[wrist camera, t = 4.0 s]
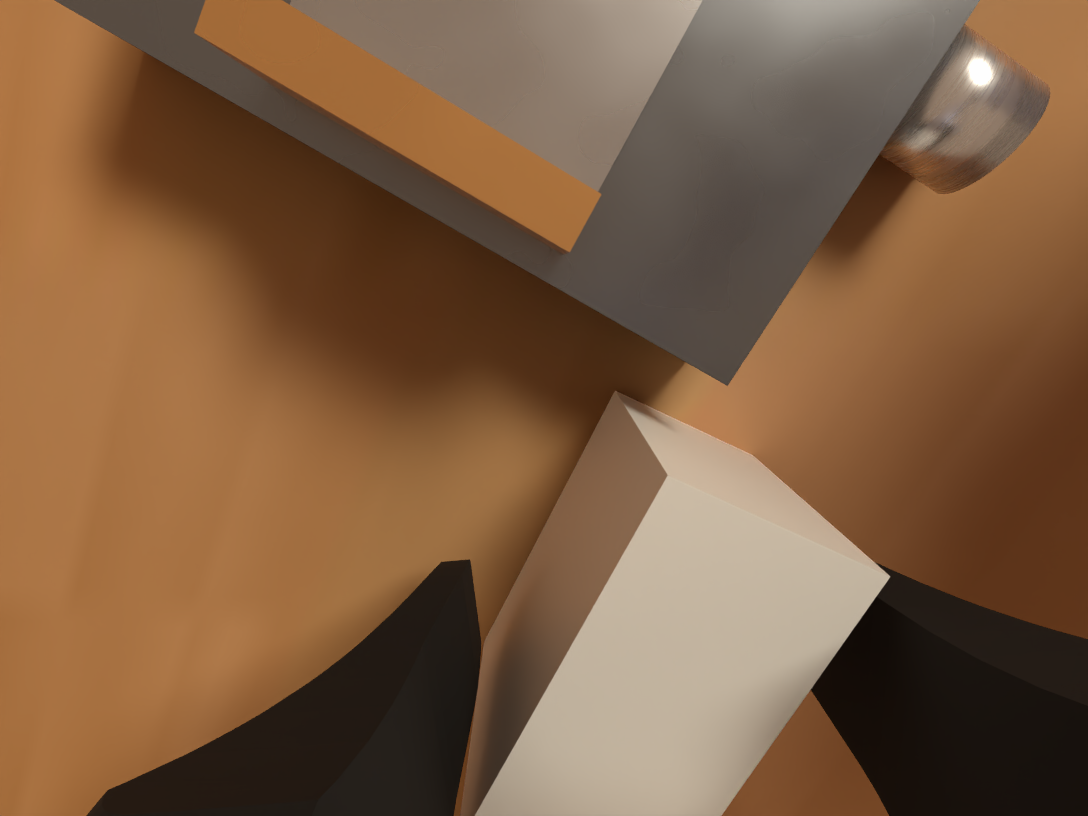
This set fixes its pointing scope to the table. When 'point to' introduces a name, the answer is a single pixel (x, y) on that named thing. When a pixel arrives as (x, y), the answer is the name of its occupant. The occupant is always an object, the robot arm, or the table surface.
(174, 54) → the motor housing
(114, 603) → the table surface
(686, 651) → the block
